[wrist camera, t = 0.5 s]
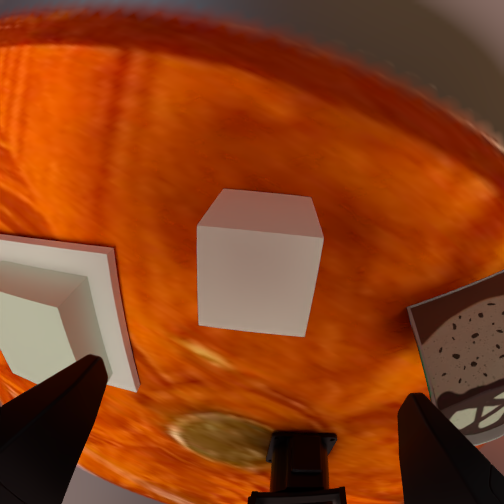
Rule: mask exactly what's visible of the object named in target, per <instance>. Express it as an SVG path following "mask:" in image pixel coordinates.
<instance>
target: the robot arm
mask: <svg viewBox="0 0 504 504" xmlns="http://www.w3.org/2000/svg"><path fill="white" fill-rule="evenodd" d="M107 382H108V374H107V371H106V368H105V364H104V361H103V359H102V357H100V356H97V355H93V354H88V355H86V356H84V357H83V358H81V359H79V360H78V361H76V362H74V363H73V364H71V365H69V366H68V367H66V368H64V369H63V370H61V371H59V372H58V373H56V374H54V375H53V376H51V377H49V378H48V379H46V380H44V381H43V382H41V383H39V384H37V385H36V386H34V387H32V388H31V389H29V390H27V391H26V392H24V393H22V394H21V395H19V396H17V397H16V398H14V399H12V400H11V401H9V402H7V403H6V404H4V405H2V407H0V504H61V503H62V501H63V498H64V496H65V493H66V491H67V488H68V485H69V483H70V480H71V478H72V475H73V473H74V470H75V468H76V465H77V463H78V460H79V458H80V455H81V453H82V451H83V448H84V446H85V444H86V441H87V439H88V437H89V434H90V432H91V430H92V427H93V425H94V422H95V419H96V416H97V413H98V410H99V407H100V404H101V400H102V397H103V394H104V391H105V388H106V385H107ZM398 436H399V460H400V469H401V477H402V485H403V495H404V504H504V476H503V475H502V474H501V473H500V472H499V471H498V470H497V469H496V468H495V467H494V466H493V465H492V464H491V463H490V462H489V461H488V459H487V458H485V456H484V455H483V454H482V453H481V452H480V451H479V450H478V449H477V448H476V447H475V446H474V445H473V444H472V443H471V442H470V441H469V440H468V439H467V438H466V437H465V436H464V435H463V434H462V433H461V431H460V430H459V429H458V428H457V427H456V426H455V425H454V424H453V423H452V422H451V421H450V420H449V419H448V418H447V417H446V416H445V415H444V414H443V413H442V412H441V411H440V410H439V409H438V408H437V407H436V406H435V405H434V404H433V403H432V402H431V401H430V400H429V399H428V398H427V397H426V396H425V395H424V394H423V393H410V394H409V395H408V396H407V398H406V399H405V401H404V403H403V404H402V406H401V407H400V409H399V411H398ZM336 441H337V435H335V434H301V433H283V432H275V433H273V434H272V437H271V441H270V445H269V449H268V453H267V456H266V461H267V462H270V463H272V467H271V481H270V492H258V491H252V494H251V496H250V497H248V503H247V504H347V502H346V493H345V486H344V487H339V488H334V489H329V472H328V455H329V453H330V451H331V450H332V448H333V446H334V444H335V443H336Z"/></svg>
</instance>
